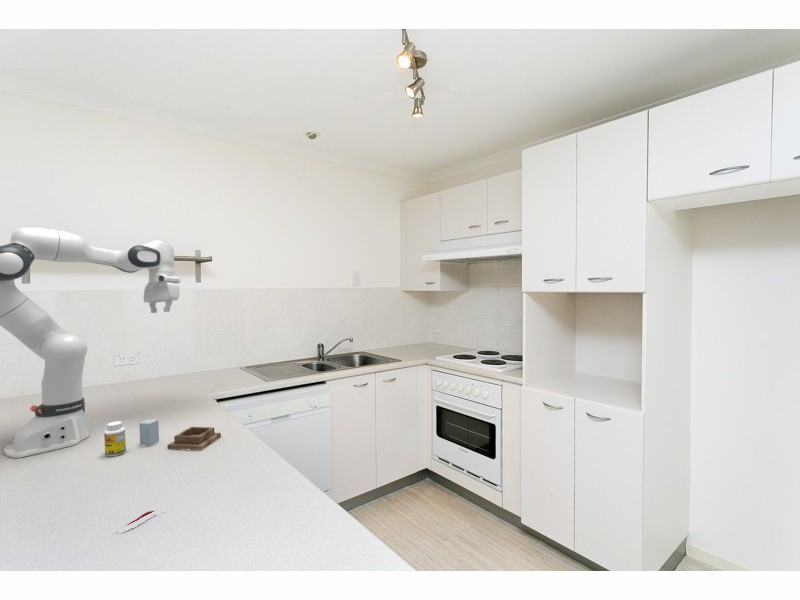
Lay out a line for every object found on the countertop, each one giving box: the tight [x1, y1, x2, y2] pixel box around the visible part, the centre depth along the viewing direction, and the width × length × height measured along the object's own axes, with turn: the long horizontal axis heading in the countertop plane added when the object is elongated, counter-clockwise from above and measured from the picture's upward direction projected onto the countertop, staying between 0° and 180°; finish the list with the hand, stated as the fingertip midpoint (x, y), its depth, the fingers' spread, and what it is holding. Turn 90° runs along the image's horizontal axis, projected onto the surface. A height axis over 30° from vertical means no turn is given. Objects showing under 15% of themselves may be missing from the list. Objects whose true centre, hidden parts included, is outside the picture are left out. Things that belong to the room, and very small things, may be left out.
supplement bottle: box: [103, 420, 127, 457], centre depth 130 cm, size 6×6×10 cm
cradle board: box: [166, 426, 222, 451], centre depth 138 cm, size 12×12×4 cm
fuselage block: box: [139, 418, 160, 447], centre depth 137 cm, size 4×4×8 cm
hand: (160, 312), depth 163 cm, fingers open, 8 cm apart
